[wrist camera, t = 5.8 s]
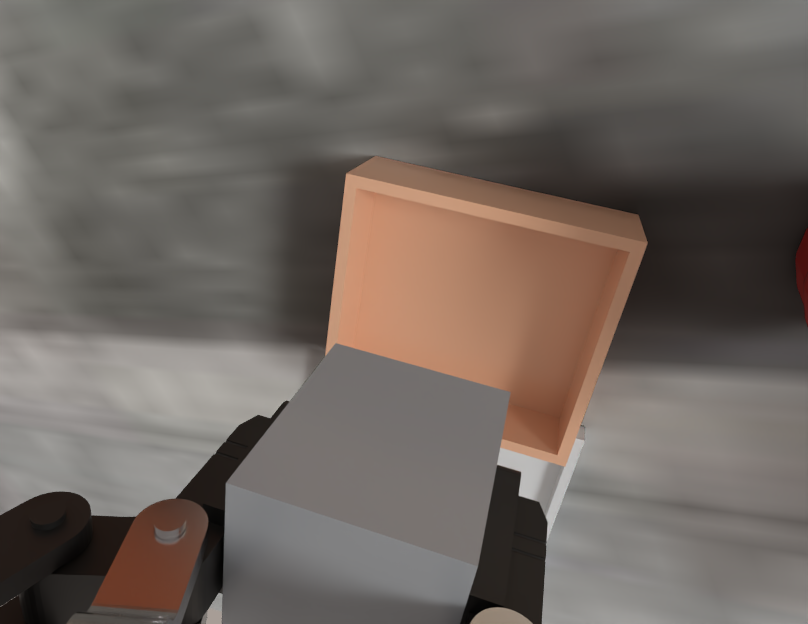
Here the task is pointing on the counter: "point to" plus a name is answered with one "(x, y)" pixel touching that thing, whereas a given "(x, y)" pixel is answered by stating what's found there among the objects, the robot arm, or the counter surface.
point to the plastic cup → (803, 272)
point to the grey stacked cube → (364, 498)
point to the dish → (485, 289)
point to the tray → (544, 477)
